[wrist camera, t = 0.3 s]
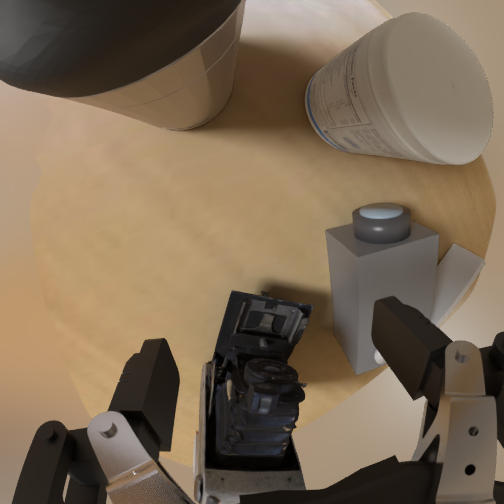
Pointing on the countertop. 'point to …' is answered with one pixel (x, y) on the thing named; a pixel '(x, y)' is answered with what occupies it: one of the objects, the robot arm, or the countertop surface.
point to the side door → (453, 281)
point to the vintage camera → (251, 401)
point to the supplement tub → (404, 95)
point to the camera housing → (377, 274)
